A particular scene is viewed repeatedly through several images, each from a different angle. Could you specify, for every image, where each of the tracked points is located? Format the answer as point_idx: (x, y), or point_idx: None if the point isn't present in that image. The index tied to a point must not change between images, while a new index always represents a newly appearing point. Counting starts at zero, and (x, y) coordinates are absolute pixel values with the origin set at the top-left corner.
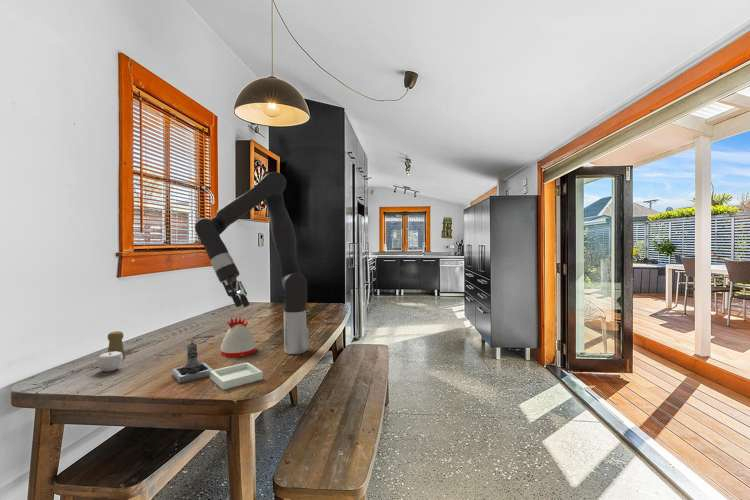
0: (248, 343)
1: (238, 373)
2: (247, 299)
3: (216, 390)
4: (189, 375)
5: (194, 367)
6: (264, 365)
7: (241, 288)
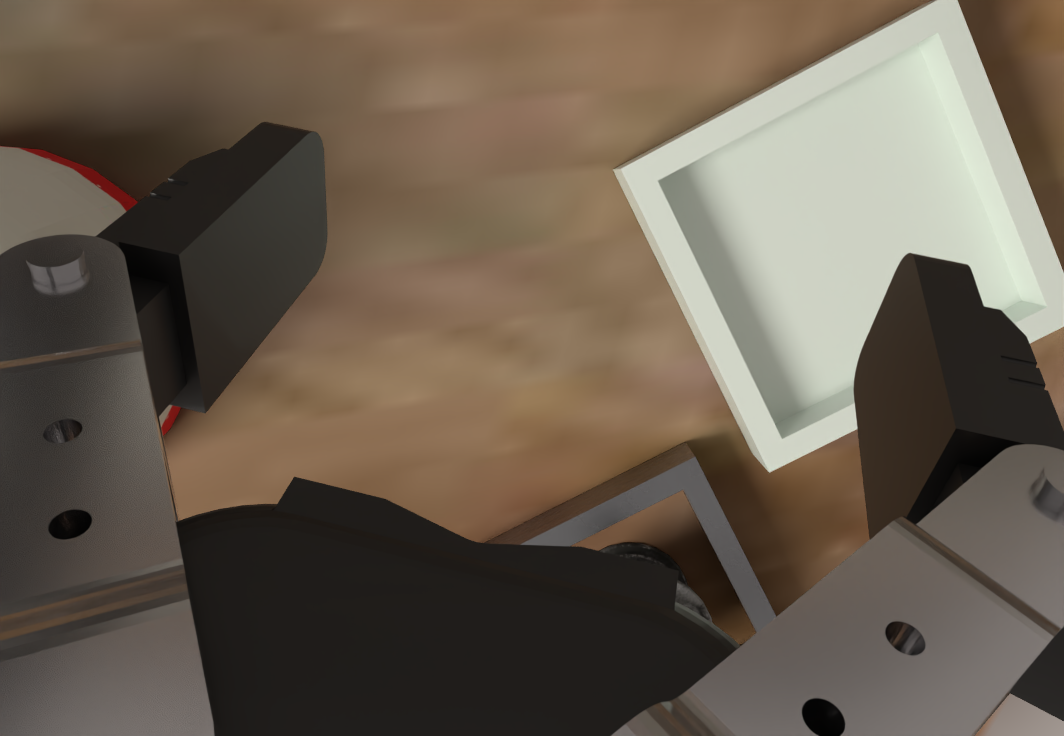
0: (69, 215)
1: (772, 231)
2: (202, 184)
3: (1034, 354)
4: (772, 609)
5: (706, 610)
6: (548, 13)
7: (164, 465)
